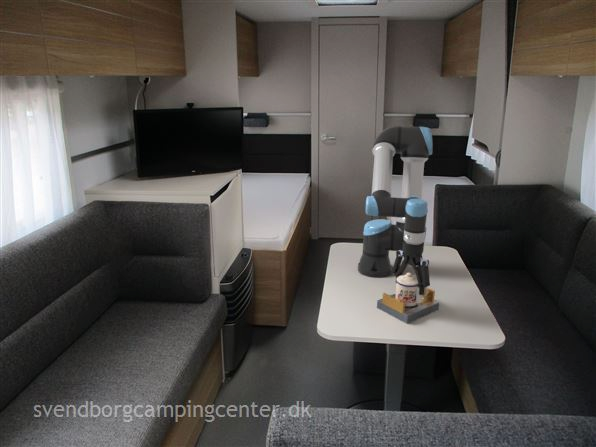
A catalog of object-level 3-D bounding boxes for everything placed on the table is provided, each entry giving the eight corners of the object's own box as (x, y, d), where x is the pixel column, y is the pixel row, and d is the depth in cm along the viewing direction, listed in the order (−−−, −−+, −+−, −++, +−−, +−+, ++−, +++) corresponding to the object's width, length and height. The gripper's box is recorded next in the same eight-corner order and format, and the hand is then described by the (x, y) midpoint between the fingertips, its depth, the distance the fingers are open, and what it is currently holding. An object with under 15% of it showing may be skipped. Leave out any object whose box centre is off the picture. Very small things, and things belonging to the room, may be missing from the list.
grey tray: (376, 307, 193) (378, 291, 191) (408, 295, 204) (409, 279, 202) (406, 323, 182) (408, 306, 180) (438, 309, 193) (440, 293, 190)
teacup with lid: (394, 305, 188) (396, 277, 184) (394, 295, 196) (396, 267, 193) (427, 308, 186) (430, 280, 182) (426, 298, 194) (428, 270, 191)
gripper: (384, 235, 191) (380, 289, 198) (430, 252, 174) (424, 310, 181) (398, 231, 195) (394, 284, 202) (444, 247, 178) (438, 305, 185)
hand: (408, 296), depth 191 cm, fingers closed on teacup with lid, 9 cm apart
